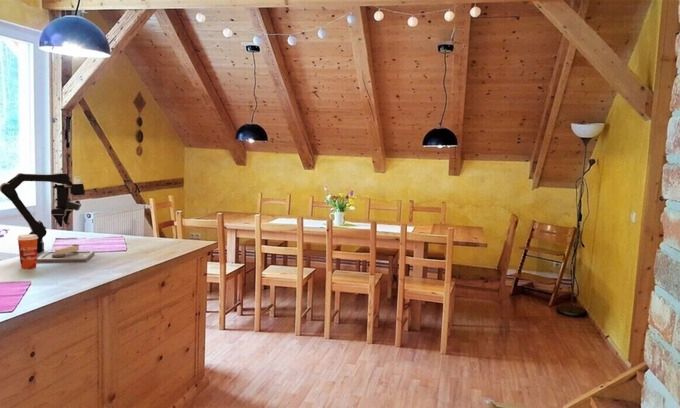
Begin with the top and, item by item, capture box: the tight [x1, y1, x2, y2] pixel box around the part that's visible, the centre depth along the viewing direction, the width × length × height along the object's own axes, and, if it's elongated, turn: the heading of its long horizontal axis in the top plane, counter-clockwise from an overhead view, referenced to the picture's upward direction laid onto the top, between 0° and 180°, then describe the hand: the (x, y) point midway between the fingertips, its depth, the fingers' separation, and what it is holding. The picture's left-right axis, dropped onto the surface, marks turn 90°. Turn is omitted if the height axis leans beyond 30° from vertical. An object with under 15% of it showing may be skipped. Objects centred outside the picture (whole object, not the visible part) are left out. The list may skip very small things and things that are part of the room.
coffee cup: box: [16, 233, 38, 270], centre depth 232 cm, size 8×8×15 cm
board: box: [36, 250, 95, 264], centre depth 252 cm, size 22×17×2 cm
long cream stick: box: [52, 244, 80, 257], centre depth 254 cm, size 14×6×4 cm, turn 160°
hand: (63, 225), depth 270 cm, fingers open, 9 cm apart
